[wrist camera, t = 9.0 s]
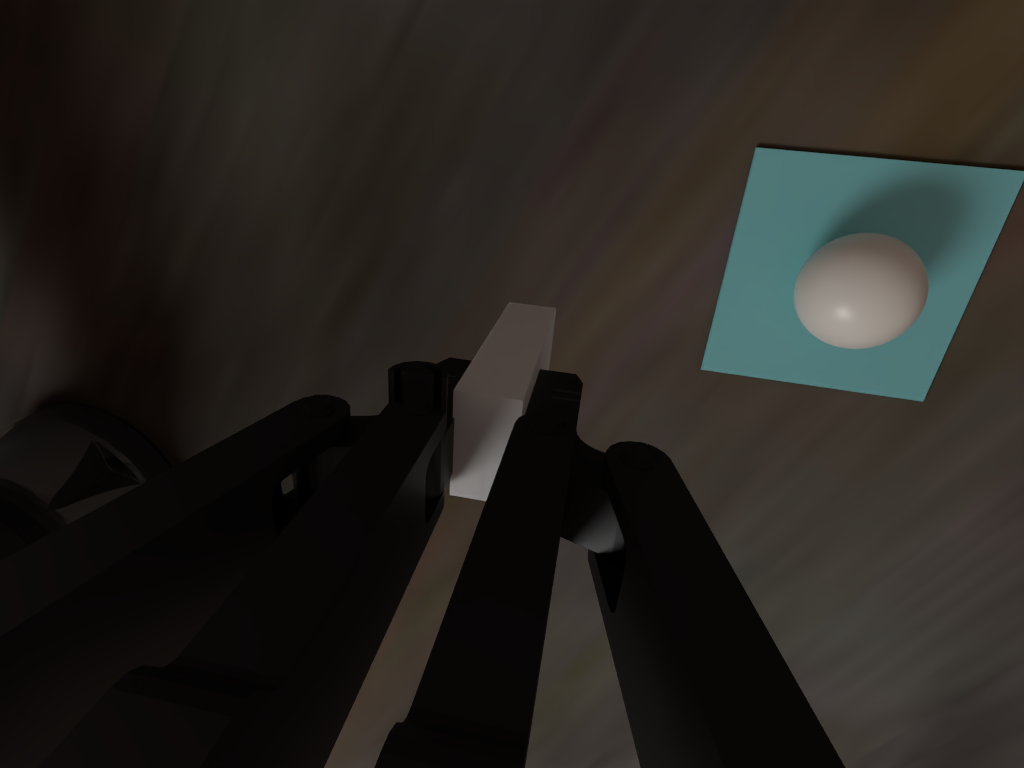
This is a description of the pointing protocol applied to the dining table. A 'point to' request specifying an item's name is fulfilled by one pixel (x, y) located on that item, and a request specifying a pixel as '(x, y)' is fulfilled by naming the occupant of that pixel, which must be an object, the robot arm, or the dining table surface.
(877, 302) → the ball
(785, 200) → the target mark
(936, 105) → the dining table surface
